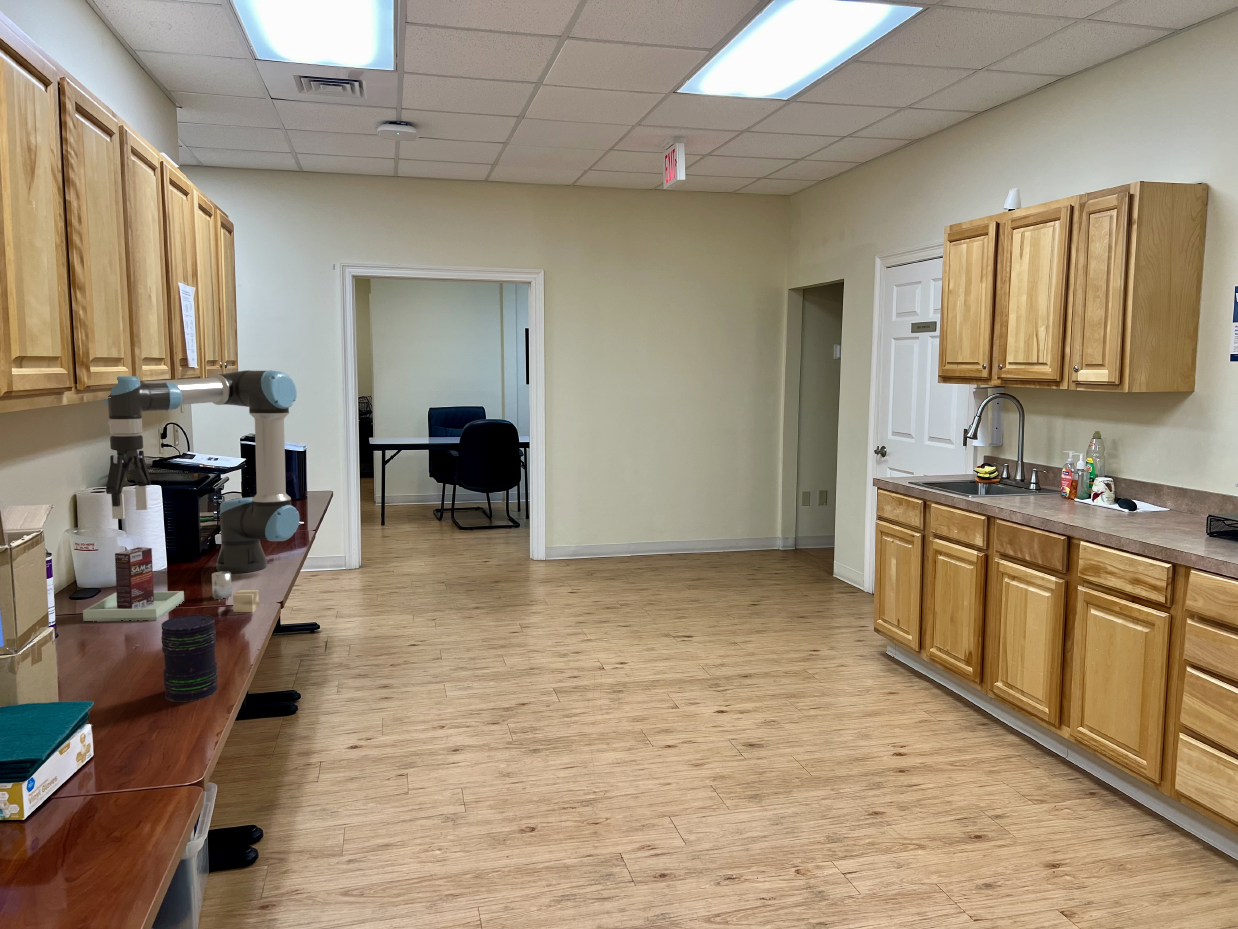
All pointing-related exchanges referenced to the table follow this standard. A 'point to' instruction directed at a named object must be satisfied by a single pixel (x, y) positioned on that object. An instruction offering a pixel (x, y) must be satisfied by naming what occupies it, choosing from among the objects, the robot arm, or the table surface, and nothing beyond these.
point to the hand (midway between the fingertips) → (130, 514)
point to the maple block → (245, 601)
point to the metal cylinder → (221, 585)
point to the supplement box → (134, 578)
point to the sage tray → (109, 611)
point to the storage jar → (189, 657)
